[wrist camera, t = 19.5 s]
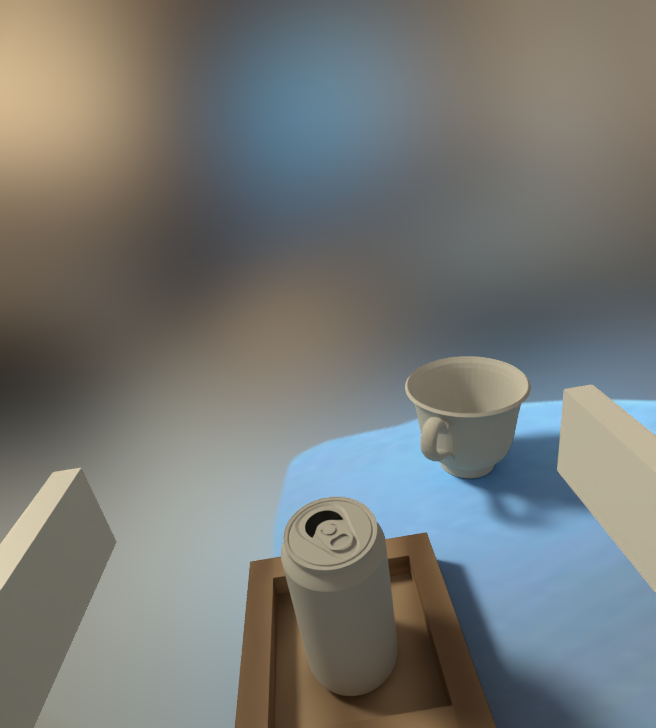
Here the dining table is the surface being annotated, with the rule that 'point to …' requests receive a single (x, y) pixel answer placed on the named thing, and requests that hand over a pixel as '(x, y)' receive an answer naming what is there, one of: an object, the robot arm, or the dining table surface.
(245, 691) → the tray
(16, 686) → the robot arm
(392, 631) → the beverage can
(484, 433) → the teacup
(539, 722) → the dining table surface
